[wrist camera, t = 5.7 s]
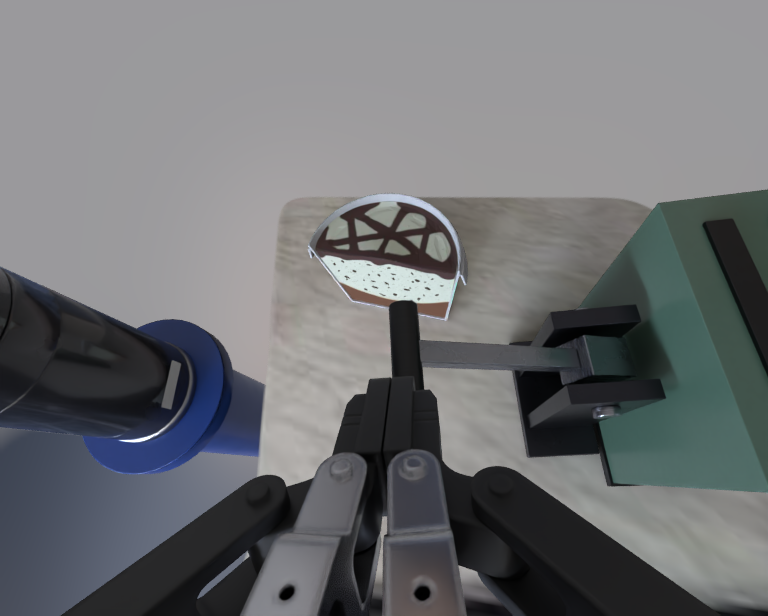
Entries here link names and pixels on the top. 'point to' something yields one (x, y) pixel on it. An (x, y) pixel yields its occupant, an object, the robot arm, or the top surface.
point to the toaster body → (694, 346)
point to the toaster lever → (505, 354)
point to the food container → (392, 253)
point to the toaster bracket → (577, 387)
